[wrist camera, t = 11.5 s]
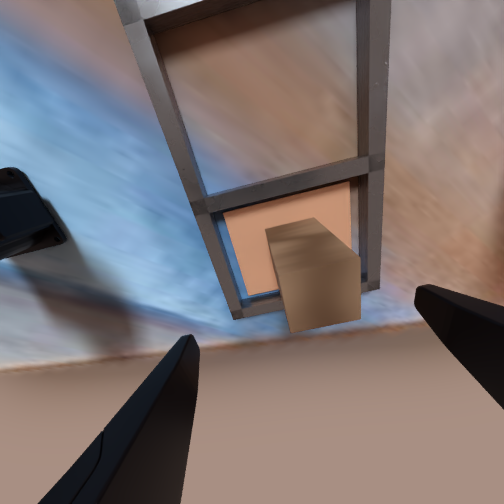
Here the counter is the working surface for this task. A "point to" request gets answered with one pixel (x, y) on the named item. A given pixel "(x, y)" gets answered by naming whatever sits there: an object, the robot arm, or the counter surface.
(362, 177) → the rail
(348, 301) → the walnut peg
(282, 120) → the counter surface
